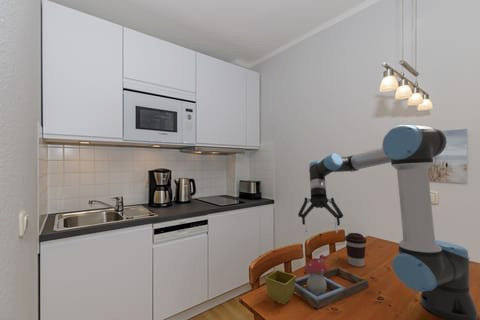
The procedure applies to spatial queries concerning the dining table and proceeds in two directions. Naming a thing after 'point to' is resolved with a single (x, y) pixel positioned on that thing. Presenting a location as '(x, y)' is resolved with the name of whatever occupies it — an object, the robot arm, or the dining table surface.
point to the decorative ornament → (316, 276)
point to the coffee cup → (355, 249)
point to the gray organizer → (334, 287)
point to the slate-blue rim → (323, 294)
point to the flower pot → (280, 286)
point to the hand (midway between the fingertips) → (321, 231)
